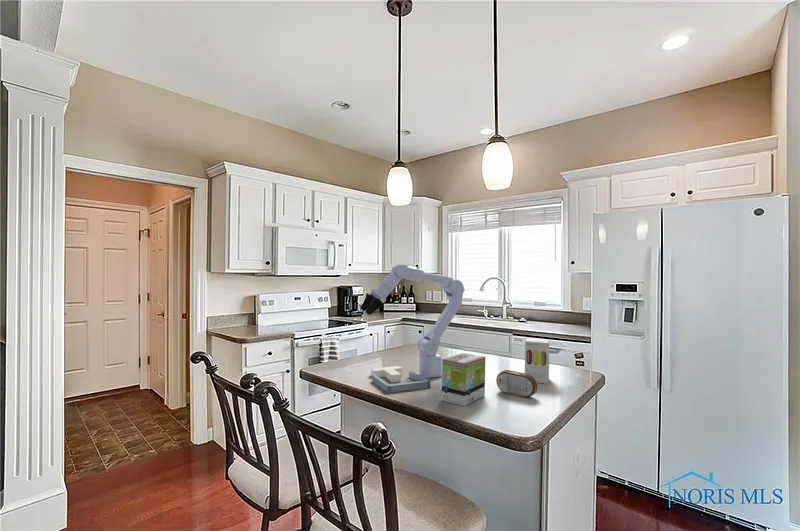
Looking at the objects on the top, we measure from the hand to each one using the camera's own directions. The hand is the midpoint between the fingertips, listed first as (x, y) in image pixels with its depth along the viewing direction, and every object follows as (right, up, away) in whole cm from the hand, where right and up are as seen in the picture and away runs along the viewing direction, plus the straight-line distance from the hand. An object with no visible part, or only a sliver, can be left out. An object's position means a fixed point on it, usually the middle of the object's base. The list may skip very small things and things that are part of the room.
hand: (364, 311), depth 166 cm
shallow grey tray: (+15, -28, -6) cm, 33 cm away
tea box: (+38, -29, -23) cm, 53 cm away
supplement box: (+72, -29, +1) cm, 78 cm away
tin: (+58, -29, -19) cm, 67 cm away
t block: (+11, -29, +3) cm, 31 cm away
